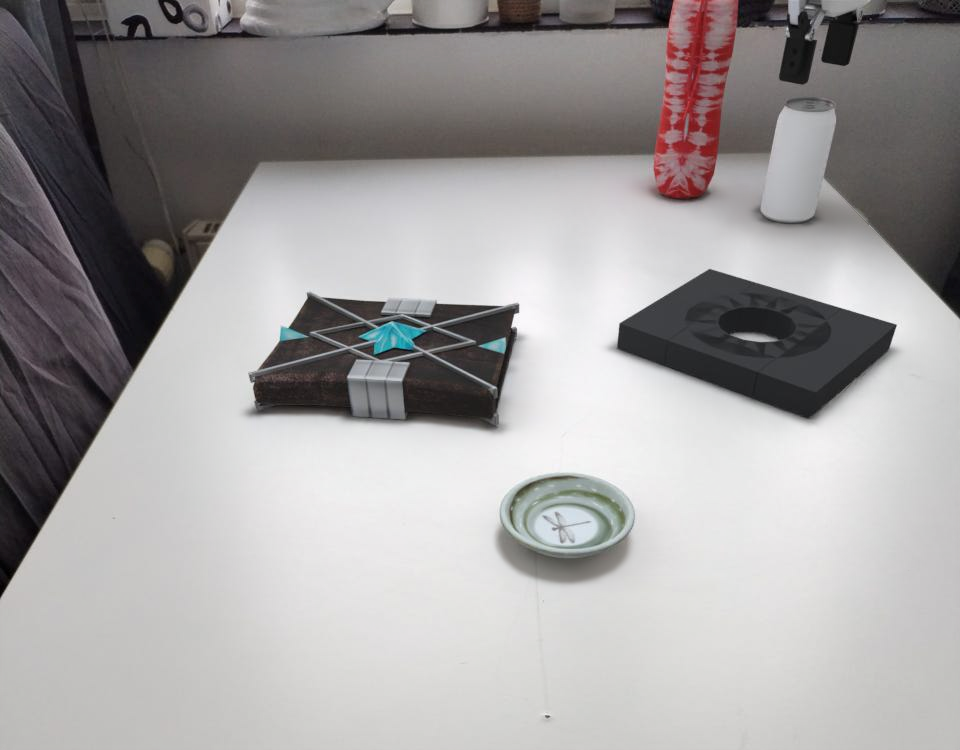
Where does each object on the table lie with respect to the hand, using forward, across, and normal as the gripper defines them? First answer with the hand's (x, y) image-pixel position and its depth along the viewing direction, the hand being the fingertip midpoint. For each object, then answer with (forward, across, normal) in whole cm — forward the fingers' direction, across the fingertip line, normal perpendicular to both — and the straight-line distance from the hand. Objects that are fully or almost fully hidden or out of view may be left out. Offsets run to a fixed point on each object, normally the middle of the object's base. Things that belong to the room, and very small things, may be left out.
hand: (814, 72), depth 98 cm
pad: (+15, -33, -14) cm, 39 cm away
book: (+15, -58, +8) cm, 61 cm away
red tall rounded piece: (+15, 0, +14) cm, 21 cm away
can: (+15, 0, 0) cm, 15 cm away
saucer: (+15, -67, -18) cm, 71 cm away
